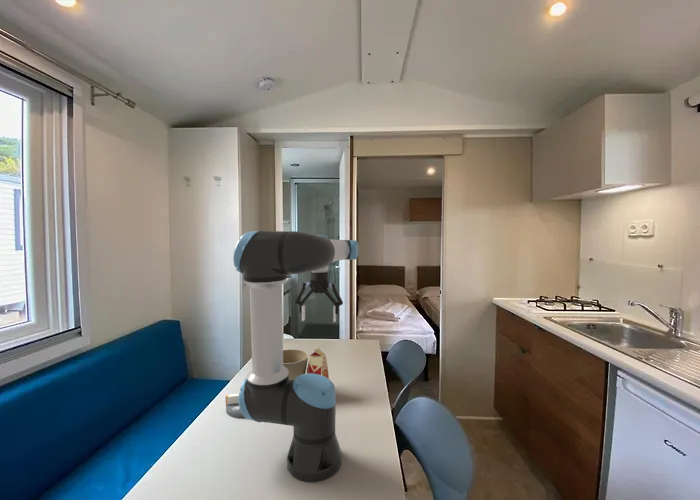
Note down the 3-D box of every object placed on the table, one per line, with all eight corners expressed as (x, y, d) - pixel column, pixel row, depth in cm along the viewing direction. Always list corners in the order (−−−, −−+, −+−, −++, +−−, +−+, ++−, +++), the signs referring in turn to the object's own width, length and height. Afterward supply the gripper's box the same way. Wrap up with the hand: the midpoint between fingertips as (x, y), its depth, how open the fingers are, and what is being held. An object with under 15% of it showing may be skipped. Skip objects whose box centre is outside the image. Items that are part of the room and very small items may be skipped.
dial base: (252, 420, 111) (252, 414, 111) (217, 414, 115) (217, 408, 115) (272, 400, 125) (272, 395, 125) (241, 395, 129) (240, 390, 128)
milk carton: (325, 403, 123) (325, 351, 122) (301, 401, 125) (301, 349, 124) (331, 392, 132) (331, 343, 131) (309, 390, 134) (309, 342, 133)
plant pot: (268, 389, 134) (268, 351, 134) (304, 384, 139) (304, 347, 138) (271, 407, 120) (271, 364, 119) (311, 401, 125) (311, 360, 124)
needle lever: (251, 398, 122) (251, 386, 122) (251, 403, 118) (251, 391, 118) (226, 401, 120) (226, 389, 120) (225, 406, 116) (225, 394, 116)
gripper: (349, 270, 140) (349, 319, 141) (293, 269, 143) (293, 317, 144) (347, 272, 133) (346, 324, 133) (288, 271, 136) (287, 321, 136)
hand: (319, 320), depth 139 cm, fingers open, 13 cm apart
